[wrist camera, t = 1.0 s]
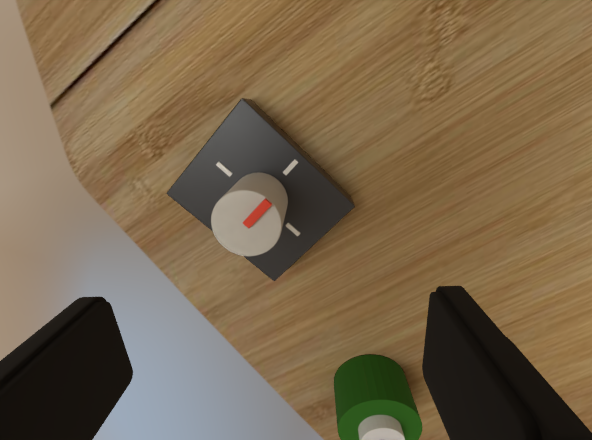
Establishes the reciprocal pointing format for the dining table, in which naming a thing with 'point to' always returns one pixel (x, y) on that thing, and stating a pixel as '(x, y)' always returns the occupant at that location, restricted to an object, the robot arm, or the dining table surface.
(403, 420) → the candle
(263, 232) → the timer knob
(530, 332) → the dining table surface
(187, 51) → the dining table surface
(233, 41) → the dining table surface
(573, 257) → the dining table surface
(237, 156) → the plate
